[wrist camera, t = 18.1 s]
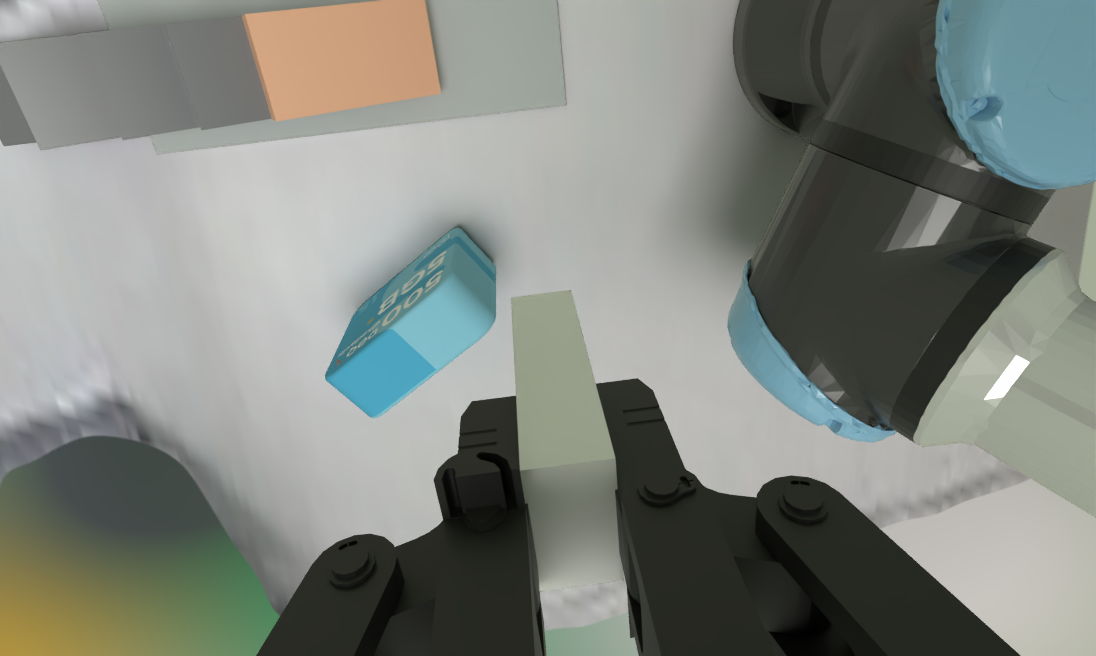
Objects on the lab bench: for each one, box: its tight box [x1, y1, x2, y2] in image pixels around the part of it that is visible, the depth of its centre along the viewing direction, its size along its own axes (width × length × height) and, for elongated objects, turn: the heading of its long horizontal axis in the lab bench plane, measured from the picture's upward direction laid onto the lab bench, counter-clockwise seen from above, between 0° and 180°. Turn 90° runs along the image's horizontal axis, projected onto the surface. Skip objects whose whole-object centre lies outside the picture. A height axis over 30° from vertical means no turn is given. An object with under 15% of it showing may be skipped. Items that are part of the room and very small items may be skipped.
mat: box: [97, 0, 566, 154], centre depth 43 cm, size 30×12×1 cm, turn 96°
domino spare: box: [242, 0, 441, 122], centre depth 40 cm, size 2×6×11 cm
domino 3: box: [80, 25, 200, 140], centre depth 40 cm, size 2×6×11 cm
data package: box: [325, 228, 496, 418], centre depth 47 cm, size 12×4×12 cm, turn 129°
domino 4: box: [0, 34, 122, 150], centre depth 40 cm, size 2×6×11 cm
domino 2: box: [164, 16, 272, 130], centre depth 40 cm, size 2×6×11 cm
